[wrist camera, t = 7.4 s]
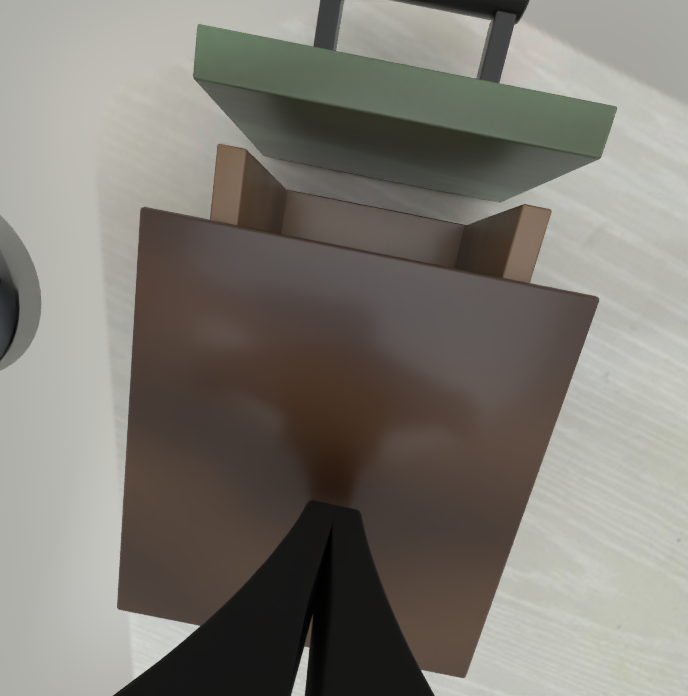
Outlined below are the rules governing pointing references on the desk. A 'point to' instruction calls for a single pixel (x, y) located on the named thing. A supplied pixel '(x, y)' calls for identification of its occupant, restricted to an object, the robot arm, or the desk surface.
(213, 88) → the drawer
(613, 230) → the desk surface
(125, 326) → the desk surface
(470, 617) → the cabinet
